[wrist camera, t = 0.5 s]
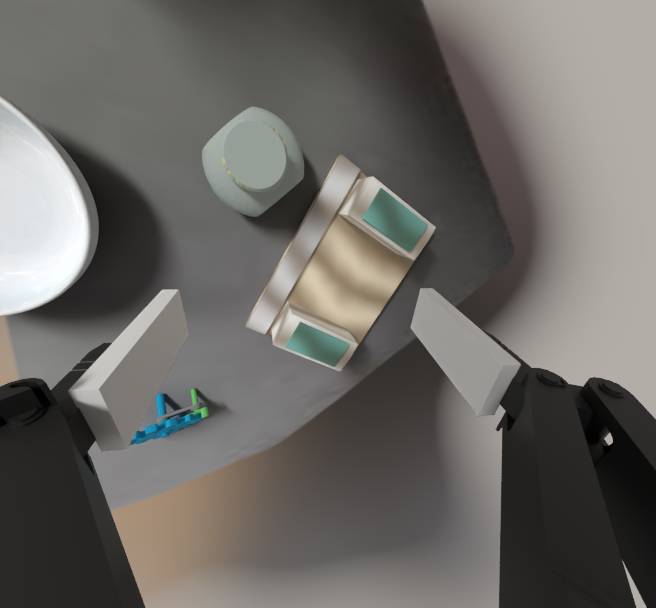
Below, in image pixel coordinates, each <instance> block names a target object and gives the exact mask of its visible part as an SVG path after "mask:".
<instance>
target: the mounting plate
mask: <svg viewBox="0 0 656 608" xmlns="http://www.w3.org/2000/svg"><path fill="white" fill-rule="evenodd" d="M435 228H436V227H435V226H434V225H432V224H431V223H430V222H429V221H427V220H426V219H425V218H424V217H423V216H421V215H420V214H419V213H418V212H416V211H415V210H414V209H413V208H411V207H410V206H409V205H408V204H406V203H405V202H404V201H403V200H402V199H400V198H399V197H398V196H397V195H395V194H394V193H393V192H392V191H390V190H389V189H388V188H387V187H385V186H384V185H383V184H382V183H380V182H379V181H378V180H377V179H376V178H374V177H367V176H365V175H364V174H363V173H362V172H360V169H359V168H358V167H356V166H355V165H354V164H353V163H351V162H350V161H349V160H348V159H346V158H345V157H344V156H343V155H340V156H339V157H338V158H337V160H336V161H335V163H334V165H333V167H332V169H331V170H330V172H329V174H328V176H327V178H326V179H325V181H324V183H323V185H322V187H321V188H320V190H319V192H318V194H317V196H316V197H315V199H314V201H313V203H312V205H311V206H310V208H309V210H308V212H307V214H306V215H305V217H304V219H303V221H302V223H301V224H300V226H299V228H298V230H297V232H296V233H295V235H294V237H293V239H292V241H291V242H290V244H289V246H288V248H287V250H286V251H285V253H284V255H283V257H282V259H281V260H280V262H279V264H278V266H277V268H276V269H275V271H274V273H273V275H272V277H271V278H270V280H269V282H268V284H267V286H266V287H265V289H264V291H263V293H262V295H261V296H260V298H259V300H258V302H257V304H256V305H255V307H254V309H253V311H252V313H251V314H250V316H249V318H248V320H247V322H246V327H248V328H250V329H253V330H255V331H258V332H260V333H262V334H266V333H267V334H269V335H272V339H273V345H274V346H277V347H279V348H282V349H284V350H287V351H289V352H292V353H294V354H297V355H299V356H302V357H304V358H307V359H310V360H312V361H315V362H317V363H320V364H322V365H325V366H327V367H330V368H332V369H335V370H337V371H341V370H342V368H343V367H344V365H346V363H347V362H348V360H349V359H350V357H351V356H352V354H353V353H354V351H355V350H356V348H357V347H358V345H359V344H360V342H361V341H362V339H363V338H364V336H365V335H366V333H367V332H368V330H369V329H370V327H371V326H372V324H373V323H374V321H375V320H376V318H377V317H378V315H379V314H380V312H381V311H382V309H383V308H384V306H385V305H386V303H387V302H388V300H389V299H390V297H391V296H392V294H393V293H394V291H395V290H396V288H397V287H398V285H399V284H400V282H401V281H402V279H403V278H404V276H405V275H406V273H407V272H408V270H409V269H410V267H411V266H412V264H413V263H414V261H415V260H416V258H417V257H418V255H419V254H420V252H421V251H422V249H423V248H424V246H425V245H426V243H427V242H428V240H429V239H430V237H431V236H432V234H433V233H434V230H435Z"/></svg>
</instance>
